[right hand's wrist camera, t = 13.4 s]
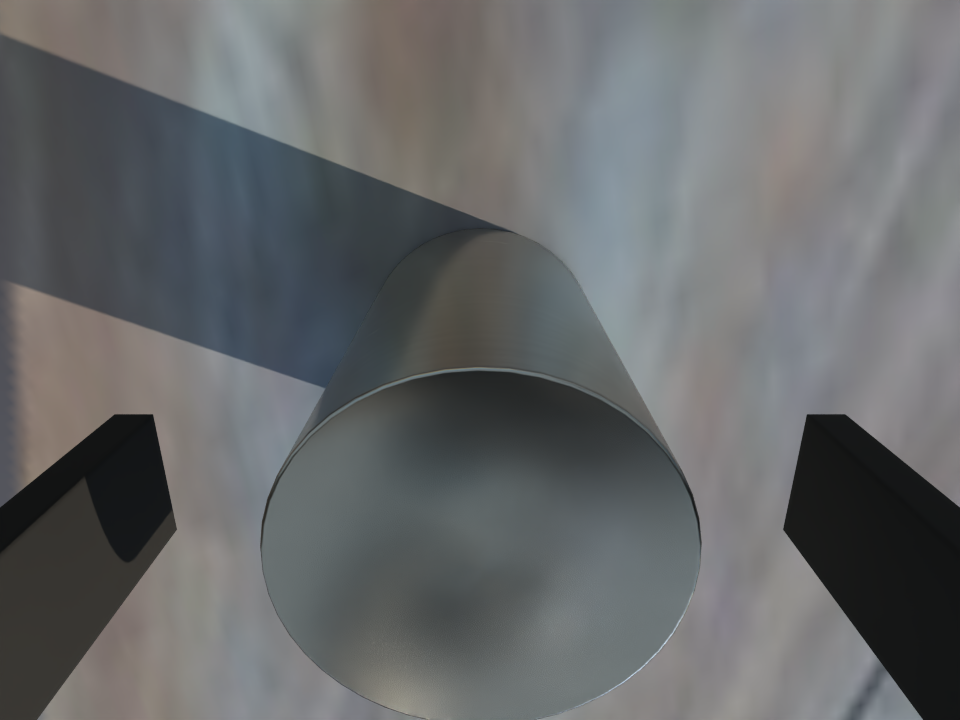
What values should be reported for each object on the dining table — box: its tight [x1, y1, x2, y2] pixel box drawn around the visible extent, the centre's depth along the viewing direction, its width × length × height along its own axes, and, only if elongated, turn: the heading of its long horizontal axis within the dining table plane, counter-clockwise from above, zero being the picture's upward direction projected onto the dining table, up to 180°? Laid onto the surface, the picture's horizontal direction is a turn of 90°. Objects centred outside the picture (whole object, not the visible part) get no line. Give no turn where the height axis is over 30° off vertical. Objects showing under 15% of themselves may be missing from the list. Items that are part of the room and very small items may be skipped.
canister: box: [260, 229, 702, 720], centre depth 15 cm, size 7×7×10 cm
